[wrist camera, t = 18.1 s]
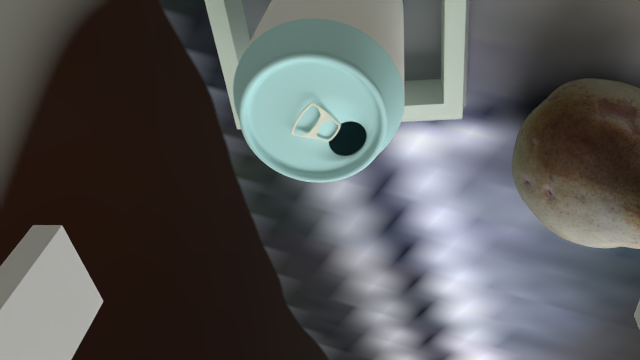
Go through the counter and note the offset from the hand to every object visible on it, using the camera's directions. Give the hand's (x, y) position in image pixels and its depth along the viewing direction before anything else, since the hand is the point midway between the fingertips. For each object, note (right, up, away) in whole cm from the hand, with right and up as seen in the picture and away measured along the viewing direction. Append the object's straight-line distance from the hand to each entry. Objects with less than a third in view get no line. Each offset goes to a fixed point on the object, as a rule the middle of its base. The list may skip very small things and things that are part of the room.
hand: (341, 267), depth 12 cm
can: (+1, +12, +18) cm, 21 cm away
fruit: (+16, +6, +23) cm, 29 cm away
